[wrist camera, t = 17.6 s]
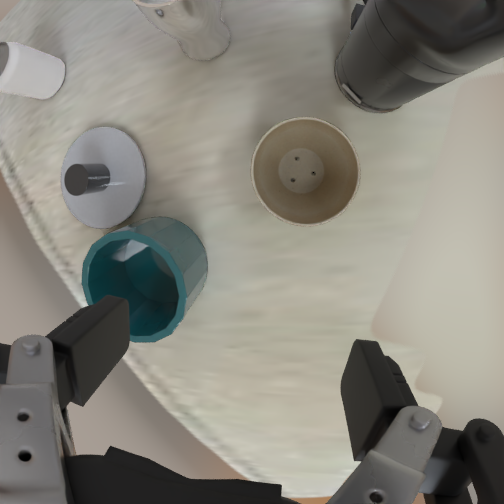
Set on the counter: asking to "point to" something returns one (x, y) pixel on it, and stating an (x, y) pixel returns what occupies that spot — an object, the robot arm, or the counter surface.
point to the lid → (103, 177)
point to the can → (29, 71)
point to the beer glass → (190, 24)
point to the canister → (148, 274)
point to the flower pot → (305, 171)
